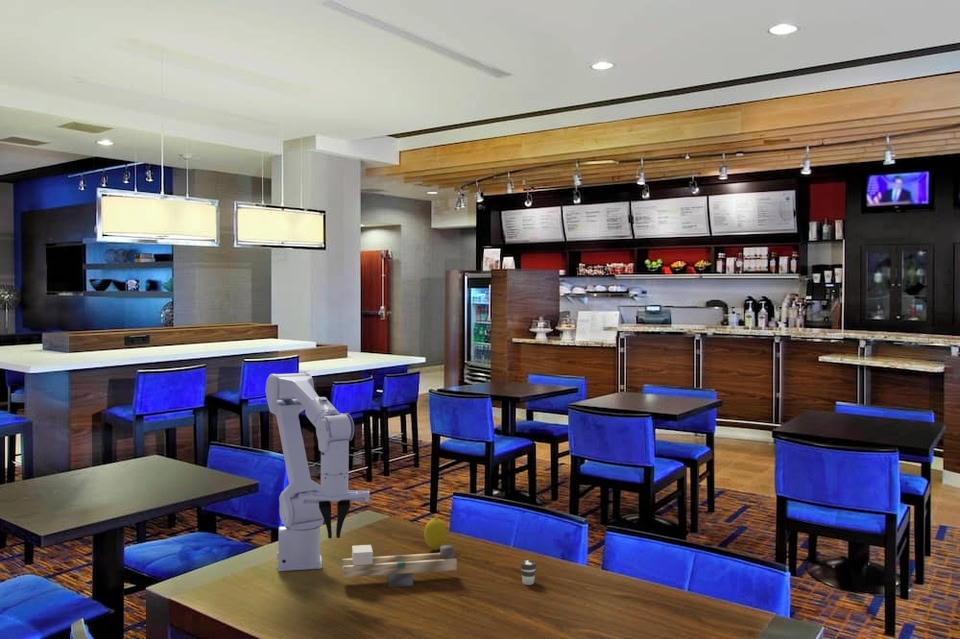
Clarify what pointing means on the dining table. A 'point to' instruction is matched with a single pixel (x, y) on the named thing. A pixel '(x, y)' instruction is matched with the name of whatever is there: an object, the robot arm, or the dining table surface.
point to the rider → (362, 555)
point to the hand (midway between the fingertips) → (333, 536)
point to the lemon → (435, 533)
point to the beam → (403, 566)
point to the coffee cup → (528, 572)
